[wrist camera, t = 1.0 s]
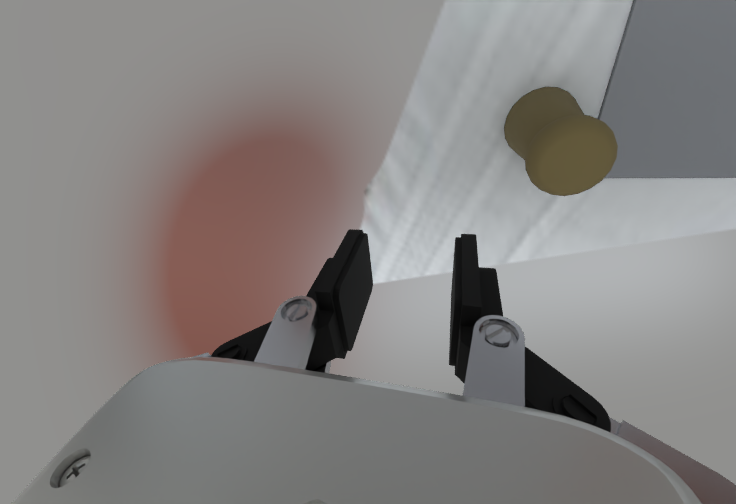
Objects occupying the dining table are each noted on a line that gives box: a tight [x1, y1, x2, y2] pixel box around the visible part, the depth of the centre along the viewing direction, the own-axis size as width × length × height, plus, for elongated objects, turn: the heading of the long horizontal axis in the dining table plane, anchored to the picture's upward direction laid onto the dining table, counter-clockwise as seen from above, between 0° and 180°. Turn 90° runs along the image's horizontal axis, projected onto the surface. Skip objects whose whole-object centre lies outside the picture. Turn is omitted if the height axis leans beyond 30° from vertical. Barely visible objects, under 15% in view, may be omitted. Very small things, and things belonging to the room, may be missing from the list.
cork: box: [504, 87, 618, 196], centre depth 24 cm, size 6×6×11 cm
